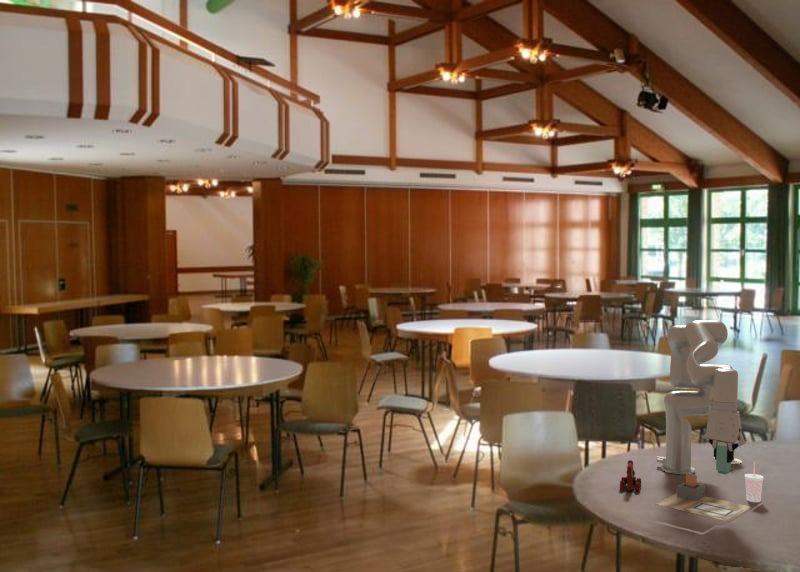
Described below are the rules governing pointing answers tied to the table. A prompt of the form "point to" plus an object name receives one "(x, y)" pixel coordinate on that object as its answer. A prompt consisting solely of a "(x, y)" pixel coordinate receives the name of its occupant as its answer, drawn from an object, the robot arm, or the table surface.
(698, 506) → the board
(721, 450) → the green and white block
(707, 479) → the table surface
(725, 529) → the table surface
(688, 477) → the button
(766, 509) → the table surface
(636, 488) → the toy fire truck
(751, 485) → the beverage cup
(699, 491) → the button housing
